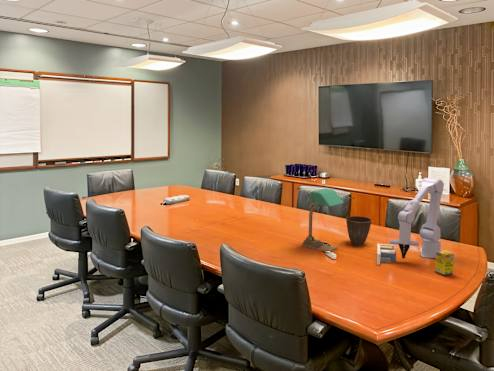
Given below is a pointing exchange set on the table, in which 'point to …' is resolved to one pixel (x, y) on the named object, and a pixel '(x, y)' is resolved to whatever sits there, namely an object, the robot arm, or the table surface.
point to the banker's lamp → (316, 197)
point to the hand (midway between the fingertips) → (403, 257)
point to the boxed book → (388, 254)
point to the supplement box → (444, 262)
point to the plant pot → (358, 229)
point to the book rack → (380, 259)
